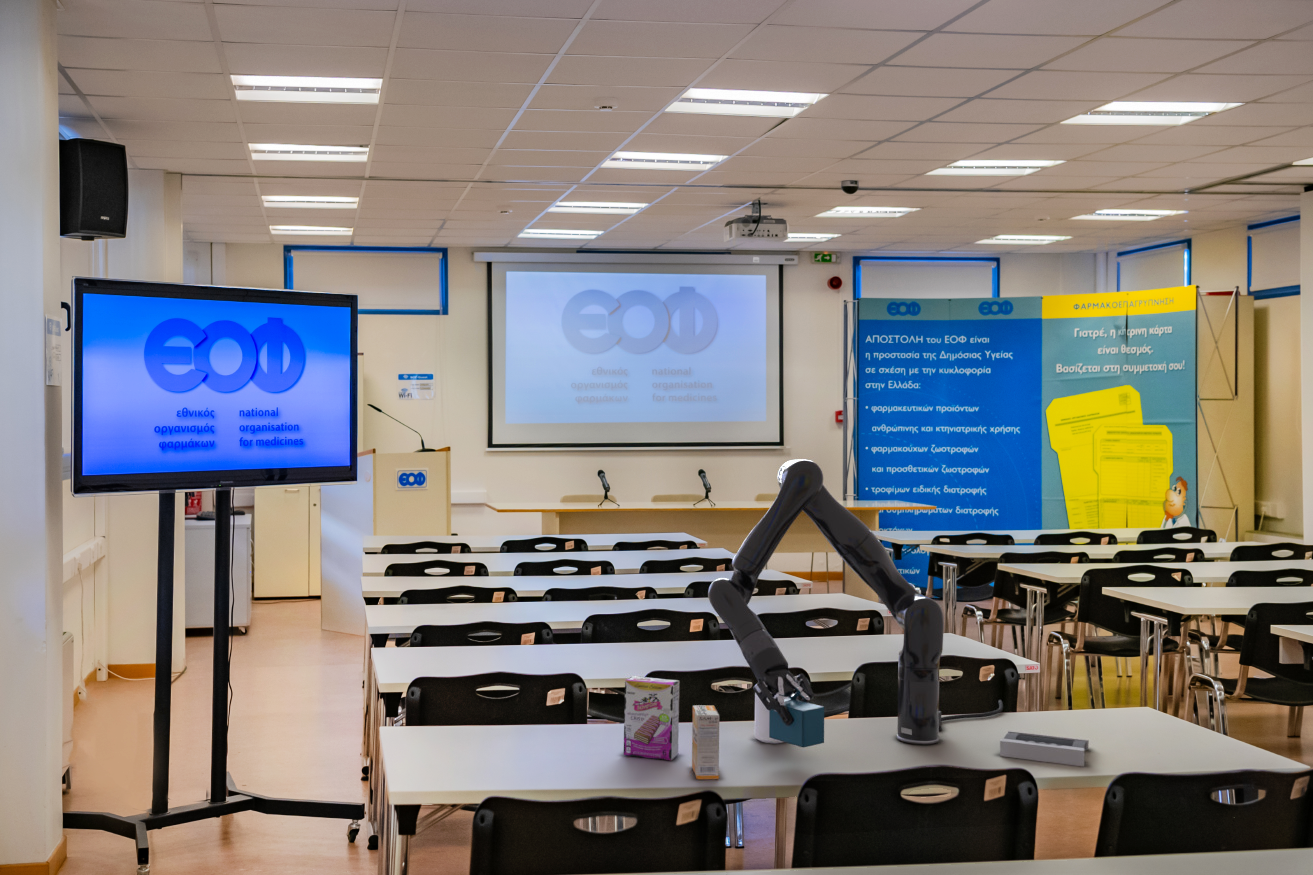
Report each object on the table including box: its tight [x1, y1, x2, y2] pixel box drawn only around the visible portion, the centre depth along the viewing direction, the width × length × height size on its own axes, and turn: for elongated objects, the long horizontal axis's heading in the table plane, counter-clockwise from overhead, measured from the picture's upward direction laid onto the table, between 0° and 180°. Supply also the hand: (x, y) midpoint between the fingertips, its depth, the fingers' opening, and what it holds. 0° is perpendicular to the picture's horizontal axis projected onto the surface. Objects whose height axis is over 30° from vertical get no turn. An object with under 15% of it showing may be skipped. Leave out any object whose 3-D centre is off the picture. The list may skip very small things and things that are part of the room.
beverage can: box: [753, 692, 789, 744], centre depth 251 cm, size 8×8×12 cm
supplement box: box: [691, 704, 720, 780], centre depth 224 cm, size 8×5×13 cm, turn 5°
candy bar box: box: [623, 675, 681, 761], centre depth 237 cm, size 11×5×16 cm, turn 71°
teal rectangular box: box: [769, 698, 825, 749], centre depth 231 cm, size 10×6×8 cm, turn 39°
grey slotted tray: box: [999, 730, 1090, 767], centre depth 244 cm, size 17×5×16 cm
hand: (802, 720), depth 230 cm, fingers closed on teal rectangular box, 6 cm apart
